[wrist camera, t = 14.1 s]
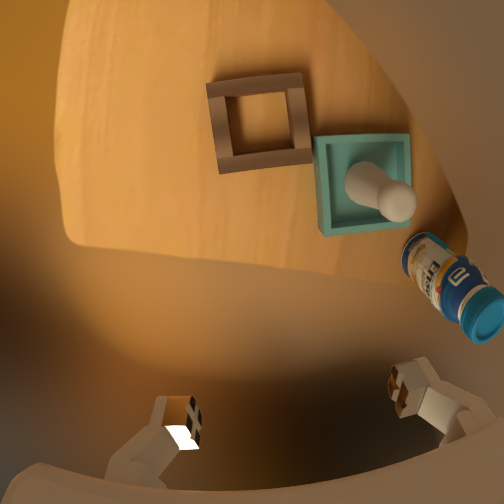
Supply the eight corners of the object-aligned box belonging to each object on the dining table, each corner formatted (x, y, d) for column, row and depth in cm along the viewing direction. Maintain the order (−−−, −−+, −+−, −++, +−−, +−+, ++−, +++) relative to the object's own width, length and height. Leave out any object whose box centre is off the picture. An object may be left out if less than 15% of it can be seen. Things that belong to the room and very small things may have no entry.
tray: (310, 136, 37) (316, 136, 34) (397, 132, 37) (409, 134, 34) (318, 228, 42) (324, 236, 39) (399, 218, 42) (410, 226, 39)
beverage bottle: (439, 269, 46) (506, 336, 27) (399, 282, 46) (460, 360, 28) (440, 225, 42) (520, 282, 24) (397, 236, 43) (472, 304, 25)
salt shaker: (331, 172, 38) (367, 194, 26) (365, 151, 37) (413, 164, 25) (351, 208, 40) (391, 242, 28) (384, 187, 39) (433, 213, 27)
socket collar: (208, 86, 35) (205, 83, 32) (297, 76, 34) (301, 72, 31) (221, 171, 39) (219, 174, 36) (308, 160, 39) (312, 163, 36)
